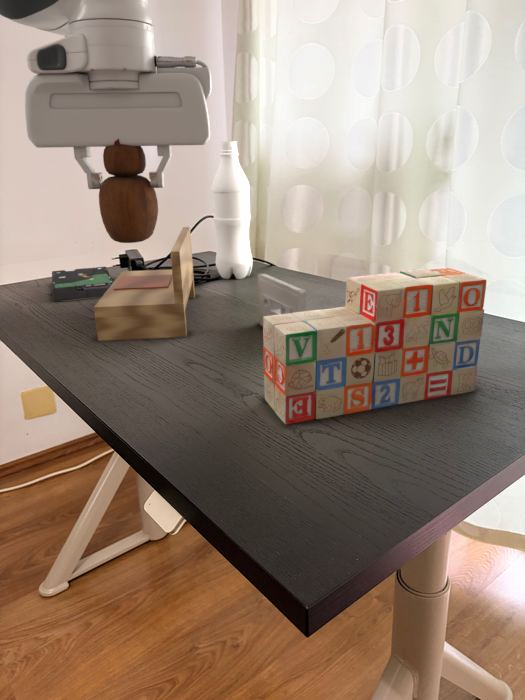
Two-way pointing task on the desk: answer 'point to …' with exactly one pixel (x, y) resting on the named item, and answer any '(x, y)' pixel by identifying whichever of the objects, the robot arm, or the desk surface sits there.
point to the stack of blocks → (376, 345)
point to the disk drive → (80, 283)
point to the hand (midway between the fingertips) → (126, 188)
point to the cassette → (278, 297)
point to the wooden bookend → (149, 299)
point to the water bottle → (231, 215)
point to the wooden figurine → (127, 195)
